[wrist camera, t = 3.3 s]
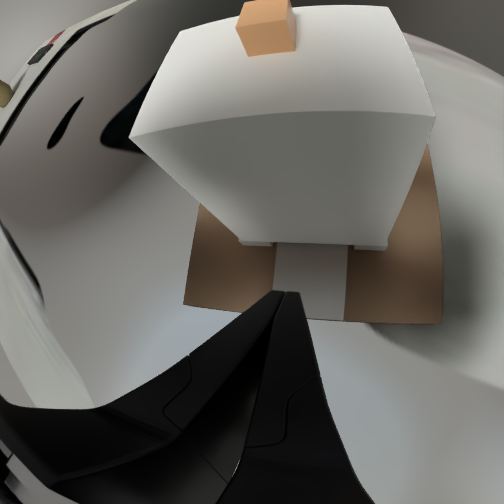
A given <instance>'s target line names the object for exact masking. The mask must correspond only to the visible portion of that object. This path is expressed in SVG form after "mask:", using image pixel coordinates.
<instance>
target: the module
mask: <svg viewBox="0 0 504 504" xmlns="http://www.w3.org/2000/svg"><path fill="white" fill-rule="evenodd" d="M435 118H436V116H435V112H434V109H433V106H432V103H431V100H430V97H429V95H428V92H427V89H426V86H425V84H424V81H423V79H422V76H421V74H420V71H419V69H418V66H417V64H416V62H415V59H414V57H413V55H412V53H411V50H410V48H409V46H408V44H407V42H406V40H405V38H404V36H403V34H402V32H401V30H400V28H399V26H398V24H397V22H396V21H395V19H394V17H393V15H392V13H391V12H390V10H389V8H388V7H380V6H362V5H329V6H327V5H326V6H308V7H296V8H292V7H291V3H290V1H289V0H256V1H251V2H246V3H244V6H243V8H242V11H241V13H240V16H237V17H233V18H228V19H223V20H219V21H215V22H211V23H207V24H204V25H200V26H197V27H194V28H190V29H187V30H184V31H181V32H179V34H178V36H177V38H176V39H175V41H174V43H173V45H172V46H171V48H170V50H169V52H168V54H167V55H166V57H165V59H164V61H163V63H162V65H161V67H160V69H159V71H158V73H157V75H156V77H155V79H154V81H153V83H152V85H151V87H150V89H149V91H148V94H147V96H146V98H145V100H144V102H143V105H142V107H141V109H140V112H139V114H138V116H137V119H136V121H135V123H134V126H133V128H132V131H131V134H130V136H129V138H130V139H131V140H132V141H133V142H134V143H135V144H136V145H137V146H138V147H140V148H141V149H142V150H143V151H144V152H145V153H146V154H147V155H148V156H149V157H151V158H152V159H153V160H154V161H155V162H156V163H157V164H158V165H159V166H160V167H162V168H163V169H164V170H165V171H166V172H167V173H168V174H169V175H170V176H171V177H173V178H174V179H175V180H176V181H177V182H178V183H179V184H180V185H181V186H182V187H183V188H185V189H186V190H187V191H188V192H189V193H190V194H191V195H192V196H193V197H194V198H196V199H197V200H198V201H199V202H200V203H201V204H202V205H203V206H204V207H205V208H206V209H208V210H209V211H210V212H211V213H212V214H213V215H214V216H215V217H216V218H217V219H219V220H220V221H221V222H222V223H223V224H224V225H225V226H226V227H227V228H228V229H229V230H231V231H232V232H233V233H234V234H235V235H236V236H237V237H238V238H239V242H240V243H241V244H242V245H246V246H273V242H287V243H316V244H343V245H354V250H377V251H385V250H386V248H387V247H388V236H389V234H390V232H391V230H392V228H393V226H394V223H395V221H396V219H397V217H398V215H399V212H400V210H401V208H402V206H403V203H404V201H405V199H406V196H407V194H408V192H409V189H410V187H411V184H412V182H413V179H414V177H415V174H416V172H417V169H418V167H419V164H420V161H421V159H422V156H423V153H424V151H425V148H426V145H427V142H428V139H429V136H430V133H431V130H432V127H433V124H434V121H435Z"/></svg>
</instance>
